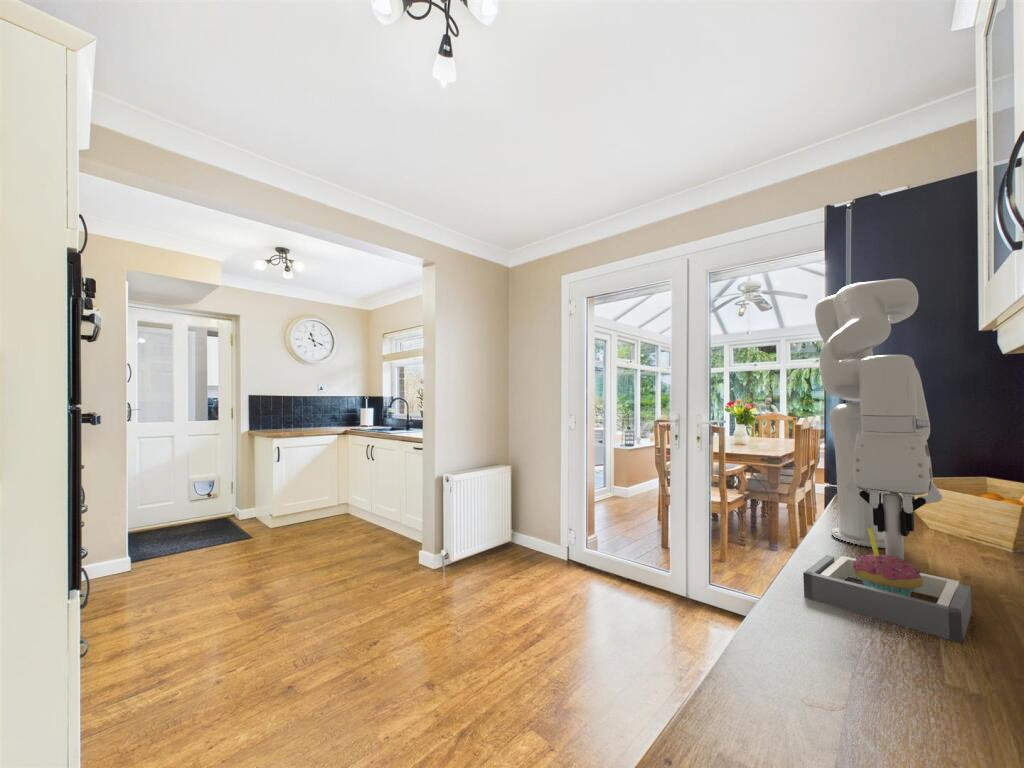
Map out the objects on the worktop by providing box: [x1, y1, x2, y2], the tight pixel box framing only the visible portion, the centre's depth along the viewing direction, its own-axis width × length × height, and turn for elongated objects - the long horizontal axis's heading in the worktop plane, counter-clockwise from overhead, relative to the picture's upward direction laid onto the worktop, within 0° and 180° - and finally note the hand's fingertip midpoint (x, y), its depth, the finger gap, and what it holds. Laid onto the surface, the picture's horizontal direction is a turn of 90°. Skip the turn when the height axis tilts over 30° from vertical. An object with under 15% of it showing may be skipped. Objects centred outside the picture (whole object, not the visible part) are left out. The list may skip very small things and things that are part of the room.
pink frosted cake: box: [853, 523, 923, 597], centre depth 72 cm, size 9×8×12 cm
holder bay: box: [802, 554, 973, 644], centre depth 70 cm, size 12×18×4 cm
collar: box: [820, 492, 960, 607], centre depth 72 cm, size 15×15×16 cm
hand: (893, 531), depth 76 cm, fingers closed on collar, 2 cm apart
